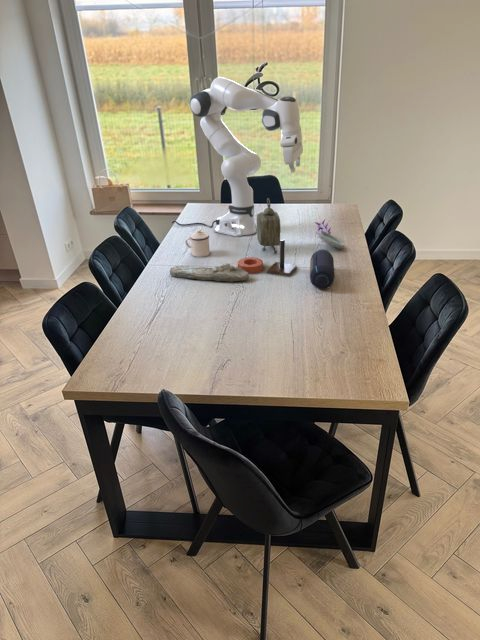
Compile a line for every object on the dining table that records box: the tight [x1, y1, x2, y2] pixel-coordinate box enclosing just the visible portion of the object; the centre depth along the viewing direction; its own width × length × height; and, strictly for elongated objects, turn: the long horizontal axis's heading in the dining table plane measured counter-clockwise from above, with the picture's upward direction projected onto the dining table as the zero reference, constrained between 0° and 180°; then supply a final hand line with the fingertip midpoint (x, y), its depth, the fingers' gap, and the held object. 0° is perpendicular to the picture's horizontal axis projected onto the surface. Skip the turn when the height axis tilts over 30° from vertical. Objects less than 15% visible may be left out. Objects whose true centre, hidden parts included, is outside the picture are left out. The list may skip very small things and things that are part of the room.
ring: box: [236, 256, 264, 275], centre depth 217 cm, size 11×11×3 cm
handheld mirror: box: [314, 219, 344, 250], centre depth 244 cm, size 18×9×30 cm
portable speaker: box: [309, 248, 336, 290], centre depth 204 cm, size 25×10×10 cm, turn 175°
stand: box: [267, 238, 297, 277], centre depth 212 cm, size 10×10×14 cm
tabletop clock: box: [256, 197, 281, 255], centre depth 230 cm, size 14×9×25 cm, turn 9°
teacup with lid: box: [184, 229, 211, 258], centre depth 231 cm, size 12×9×12 cm
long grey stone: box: [169, 262, 250, 283], centre depth 209 cm, size 35×5×10 cm
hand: (295, 169), depth 224 cm, fingers open, 8 cm apart
